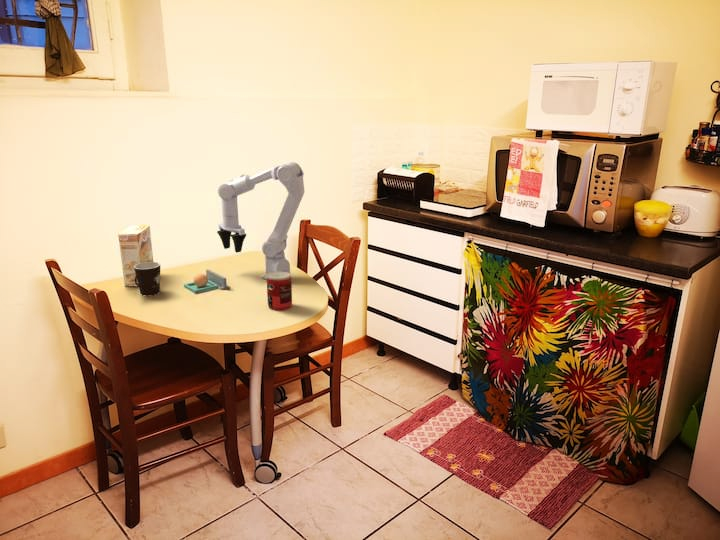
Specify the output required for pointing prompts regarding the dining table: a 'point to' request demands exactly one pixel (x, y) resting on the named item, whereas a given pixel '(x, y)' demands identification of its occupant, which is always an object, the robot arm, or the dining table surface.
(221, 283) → the wall
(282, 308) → the canned food
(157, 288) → the coffee mug
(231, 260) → the dining table surface
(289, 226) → the robot arm
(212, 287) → the coaster
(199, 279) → the ball
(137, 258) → the coffeecake box
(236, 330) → the dining table surface
